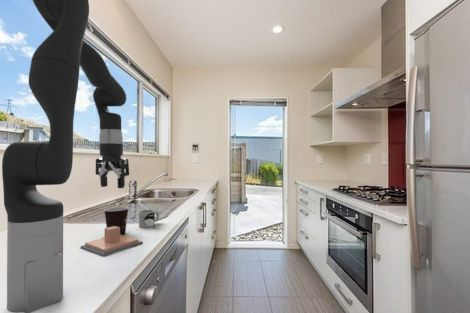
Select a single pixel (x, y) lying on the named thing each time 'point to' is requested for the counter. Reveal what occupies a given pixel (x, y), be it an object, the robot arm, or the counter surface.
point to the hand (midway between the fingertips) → (112, 187)
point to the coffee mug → (117, 218)
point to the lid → (111, 240)
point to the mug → (147, 218)
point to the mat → (109, 251)
